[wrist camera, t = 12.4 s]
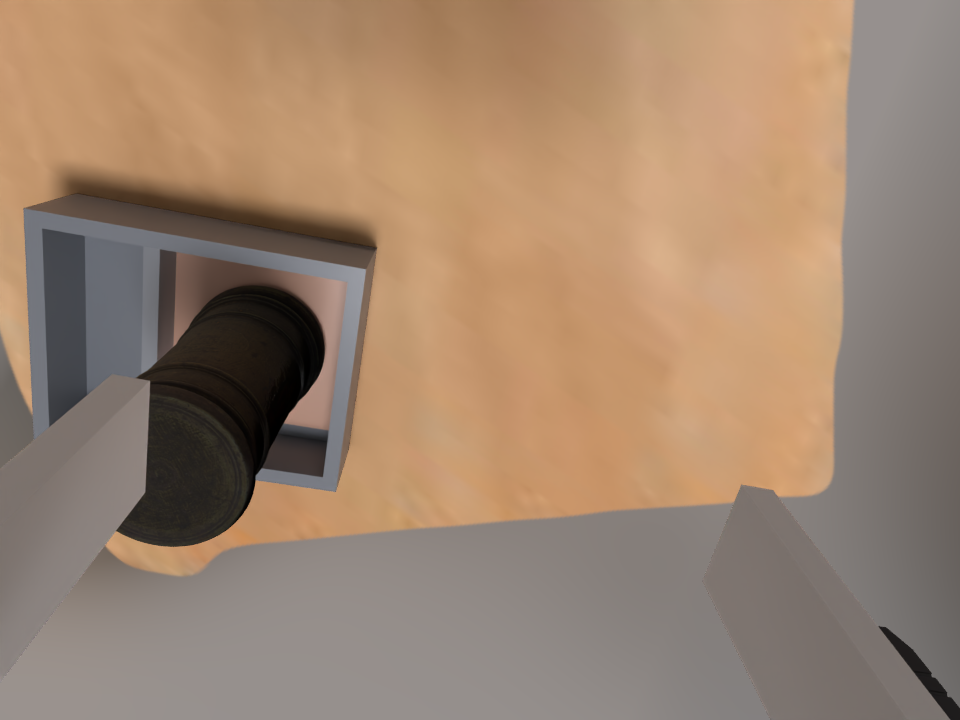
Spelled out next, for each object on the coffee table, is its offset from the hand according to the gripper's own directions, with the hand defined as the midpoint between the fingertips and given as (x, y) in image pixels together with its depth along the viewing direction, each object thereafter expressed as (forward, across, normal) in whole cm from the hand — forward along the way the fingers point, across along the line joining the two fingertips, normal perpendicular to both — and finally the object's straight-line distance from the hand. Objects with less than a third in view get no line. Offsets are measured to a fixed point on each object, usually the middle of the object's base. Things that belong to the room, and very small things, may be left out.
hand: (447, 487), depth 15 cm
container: (+33, -12, -12) cm, 37 cm away
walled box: (+34, -15, -12) cm, 39 cm away
